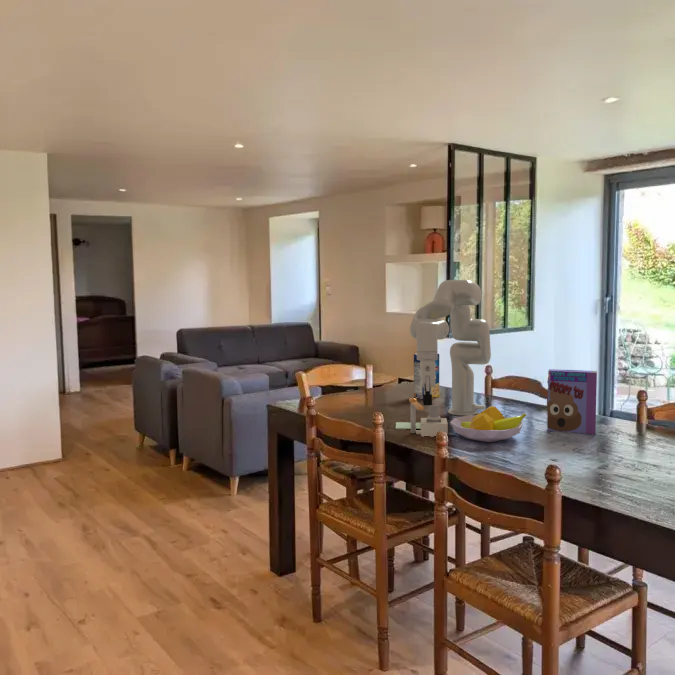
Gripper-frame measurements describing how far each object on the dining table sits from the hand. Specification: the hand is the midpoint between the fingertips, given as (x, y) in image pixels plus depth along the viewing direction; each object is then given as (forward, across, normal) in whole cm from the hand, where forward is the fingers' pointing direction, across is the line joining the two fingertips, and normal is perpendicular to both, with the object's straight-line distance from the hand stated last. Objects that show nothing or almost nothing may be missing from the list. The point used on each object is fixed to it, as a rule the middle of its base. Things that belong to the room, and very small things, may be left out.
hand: (427, 404), depth 239 cm
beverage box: (+16, +87, -2) cm, 89 cm away
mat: (+14, +23, +7) cm, 28 cm away
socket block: (+14, +12, -1) cm, 19 cm away
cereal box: (+15, +18, -56) cm, 60 cm away
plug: (+14, +12, -3) cm, 19 cm away
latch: (+2, +7, +4) cm, 8 cm away
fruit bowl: (+14, +6, -23) cm, 27 cm away
